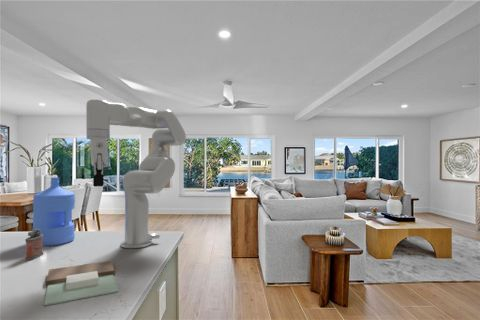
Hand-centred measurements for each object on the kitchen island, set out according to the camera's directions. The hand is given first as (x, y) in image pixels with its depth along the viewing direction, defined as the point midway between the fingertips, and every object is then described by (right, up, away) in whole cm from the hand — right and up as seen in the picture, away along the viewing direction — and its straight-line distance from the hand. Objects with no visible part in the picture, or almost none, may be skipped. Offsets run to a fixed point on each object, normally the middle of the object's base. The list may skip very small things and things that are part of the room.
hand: (98, 186), depth 106 cm
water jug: (-31, -27, +23) cm, 47 cm away
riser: (+1, -27, -14) cm, 30 cm away
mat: (+7, -27, -24) cm, 36 cm away
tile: (+5, -25, -21) cm, 33 cm away
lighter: (-25, -27, +3) cm, 36 cm away
